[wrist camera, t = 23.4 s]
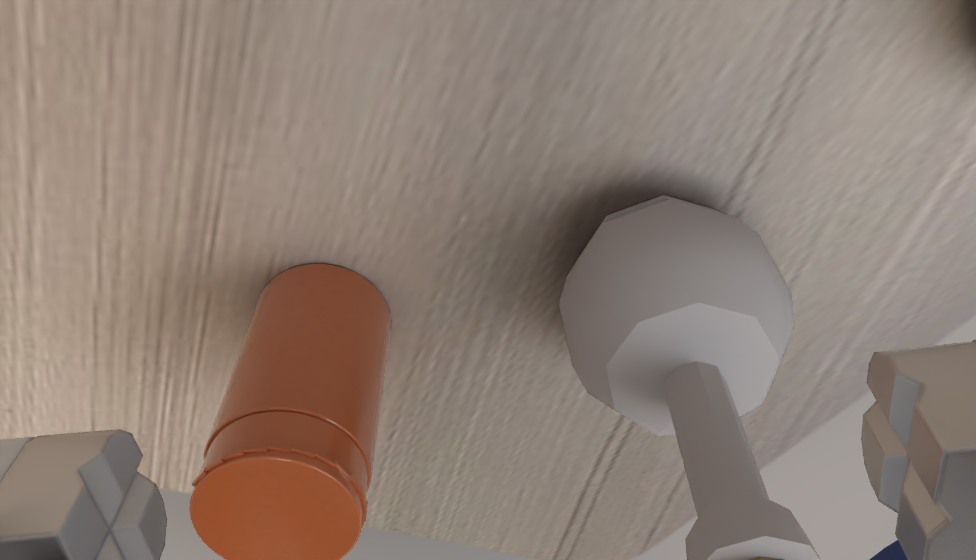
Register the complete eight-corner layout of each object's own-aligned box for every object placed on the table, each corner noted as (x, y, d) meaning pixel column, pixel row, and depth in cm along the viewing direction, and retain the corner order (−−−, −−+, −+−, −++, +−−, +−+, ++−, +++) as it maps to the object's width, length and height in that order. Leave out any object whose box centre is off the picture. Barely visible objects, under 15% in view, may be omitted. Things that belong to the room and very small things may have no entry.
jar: (418, 309, 39) (399, 508, 29) (344, 391, 41) (305, 599, 32) (301, 238, 37) (241, 427, 27) (231, 329, 39) (154, 531, 30)
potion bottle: (805, 270, 38) (1022, 655, 23) (636, 382, 41) (729, 785, 26) (681, 128, 34) (843, 474, 19) (507, 264, 37) (529, 651, 22)
